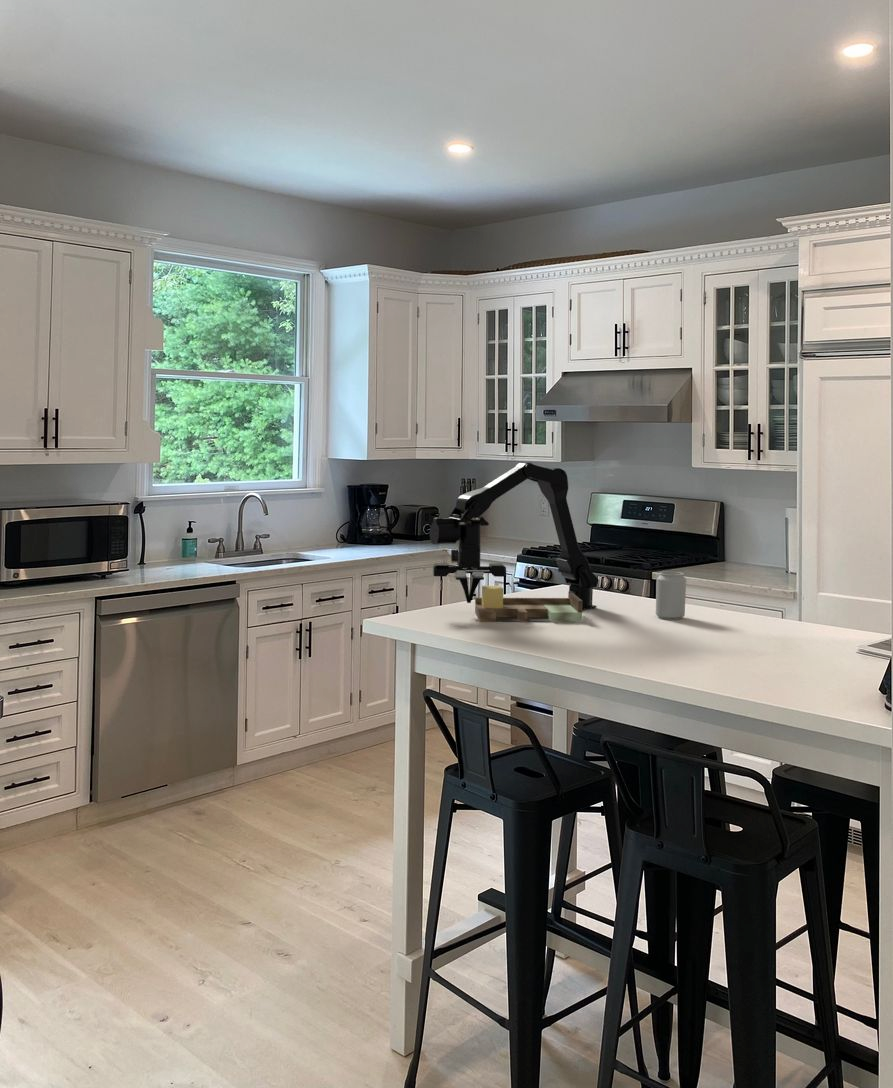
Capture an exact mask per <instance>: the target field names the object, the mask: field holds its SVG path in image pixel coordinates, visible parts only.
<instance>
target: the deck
mask: <svg viewBox="0 0 893 1088" xmlns="http://www.w3.org/2000/svg"><path fill="white" fill-rule="evenodd" d="M582 603H583V601H582V600H581V599H580V598H579V597H577V596H576V595H575V594H574V593H569V598H568V597H503V608H483V606H482V597H475V599H474V613H475V615H476V617H477V619H478V622H480V623H583V610H582Z"/></svg>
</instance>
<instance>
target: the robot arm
mask: <svg viewBox="0 0 893 1088" xmlns="http://www.w3.org/2000/svg"><path fill="white" fill-rule="evenodd" d="M526 480H529V481H532V482H535V483H537V486H538V487H539V489H540V492H541V493H542V495H543V496H544V497H545V499H546V500H547V503H548V504H549V505H548V506H549V507H550V508H549V509H550V512H551V515H552V519H553V523H554V527H555V532H556V535H557V538H558V539H557V540H558V543H559V546H560V556H559V557H557V558H555V561H556V564H557V568H558V569H557V571H558V572H559V573H561V576H562V577H564V581H565V584H566V585H567V584H569V586H568V587H569V589H568V591H567V592H568V595H567V596H568V597H567V598H569V593H574V594H575V595H576V596H577V597H579V598H580V599H581V600H582V601H583V603H582V611H583V610H589V609H594V608H595V609H596V608H597V605H593V593H594V592H593V591H594V588H596V587H598V584H599V578H598V577H597V576H596V575H595V574H594V572H592V570H591V565H590V563H589V561H588V559H587V557H586V555H585V554H584V553H583V551H582V550H581V548H580V547H579V544H578V540H577V535H576V531H575V527H574V523H573V519H572V516H571V513H570V512H571V511H570V507H569V504H568V503H569V502H568V500H567V499H568V498H567V496H568V493H569V492H568V491H569V479H568V474H567V472H566V470H565V469H562V468H559V467H547V466H545V467H543V466H540V465H537V464H533V463H532V462H526V461H525V462H521V461H520V462H518V464H516V465H515V467H513V468H511V469H510V470H508V471H506V472H505V473H503V474H501V475H500V476H498V477H497V478H496V479H493V480H492V481H491V482H489V483H487V484H486V485H485V486H483V487H481V488H477V489H473V490H471V491H468V492H465V493H463V494H461V495H460V496H459V497H457V499H456V502H455V506H454V507H453V509H452V511H451V512H450V513H449V515H448V516H447V517H433V519H432V520H433V521H432V523H431V526H430V529H429V539H430V542H431V543H432V545H434V546H435V545H454V544H456V543H457V542H458V549H451V550H450V562H451V563H453V564H454V563H456V565H455V566H454V565H449V563H448V562H435V563H433V565H432V575H433V577H447V576H448V575H450V574H454V579H455V580H457V581H459V582H460V584H461V586H462V589H463V593H464V595H465V600H466V603H467V604H471V603H472V600H473V597H474V594H475V592H476V589H477V587H478V586H479V584H480V581H483V580H485V577H484V575H485V574H492V576H493V577H499V578H500V577H501V578H503V577H507V567H506V566H505V565H504V564H503V563H502V562H500V563H499V562H497V563H496V562H494V563H490V562H489V563H488V565H487V566H486V565H485V566H484V565H481V552H482V551H481V550H482V549H481V547H482V544H481V543H482V541H481V539H482V538H481V537H482V534H481V533H482V526H484V527H485V526H489V525H490V523H489V522H488V521H487V520H486V519H485V517H484V516H483V514H485V512H486V511H488V510H489V509H490V508H491V506H492V504H493V503H494V502H495V501H496V500H497V499H499V498H501V497H502V496H503V495H505V494H506V493H507V492H510V491H511V490H512V489H514V488H515V487H517V486H518V485H521V484H522V483H523V482H525V481H526ZM467 574H470V582H468V576H467Z"/></svg>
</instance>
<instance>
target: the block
mask: <svg viewBox="0 0 893 1088" xmlns="http://www.w3.org/2000/svg"><path fill="white" fill-rule="evenodd" d="M481 598H482V606H483V608H503V598H504V588H503V586H502V585H482V586H481Z"/></svg>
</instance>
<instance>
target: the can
mask: <svg viewBox="0 0 893 1088" xmlns="http://www.w3.org/2000/svg"><path fill="white" fill-rule="evenodd" d="M684 575H685V573H683V572H680V571H660V572H659V576H658V577H657V578H656V596H655V615H656V616H657V618H658V619H661V620H668V621H669V620H670V621H677V620H681V619H682V618H683V617H685V615H686V596H687V595H686V592H687V578H685V576H684Z"/></svg>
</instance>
